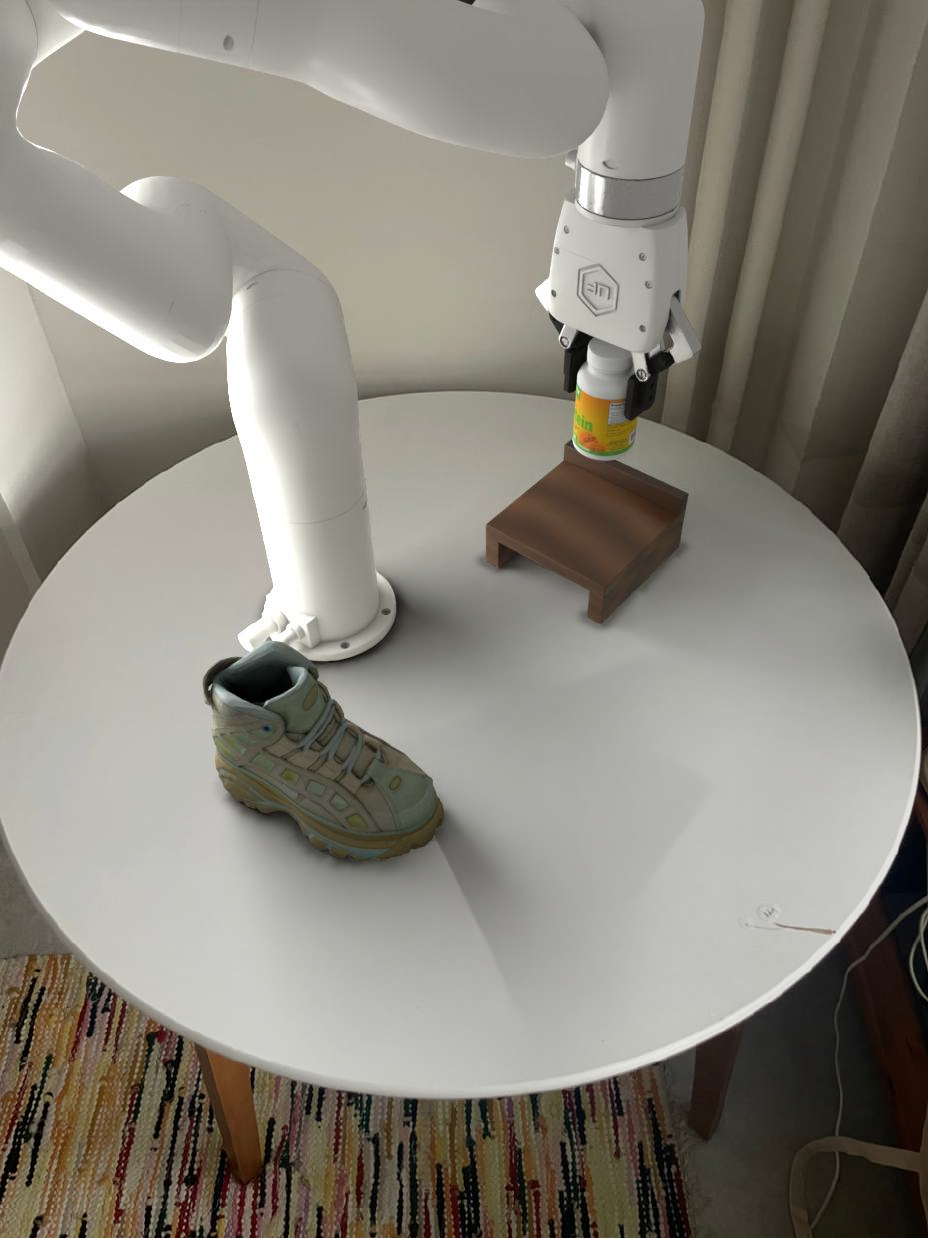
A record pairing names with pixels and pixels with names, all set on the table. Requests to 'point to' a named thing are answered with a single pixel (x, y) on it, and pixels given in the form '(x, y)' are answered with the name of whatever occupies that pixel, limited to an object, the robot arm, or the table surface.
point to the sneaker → (314, 759)
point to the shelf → (592, 527)
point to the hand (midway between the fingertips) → (607, 396)
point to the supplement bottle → (603, 403)
